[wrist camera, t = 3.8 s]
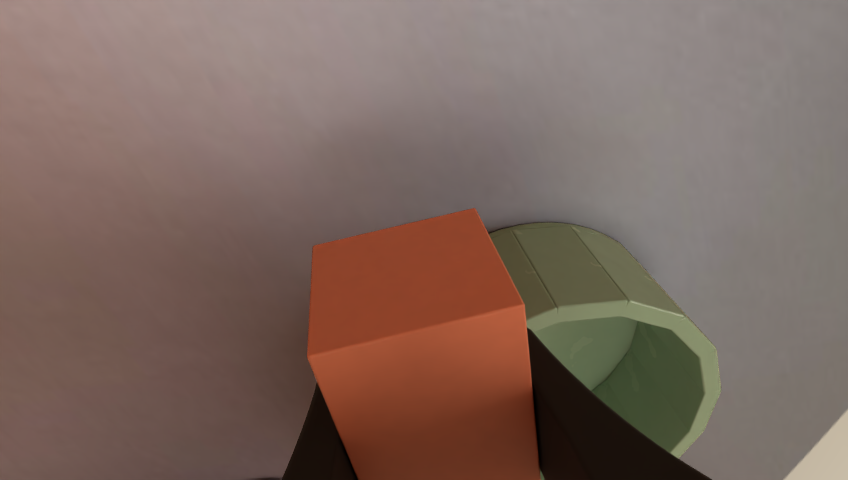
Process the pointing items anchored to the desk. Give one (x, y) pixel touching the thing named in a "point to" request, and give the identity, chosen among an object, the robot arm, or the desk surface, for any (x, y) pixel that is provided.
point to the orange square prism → (424, 353)
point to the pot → (614, 329)
